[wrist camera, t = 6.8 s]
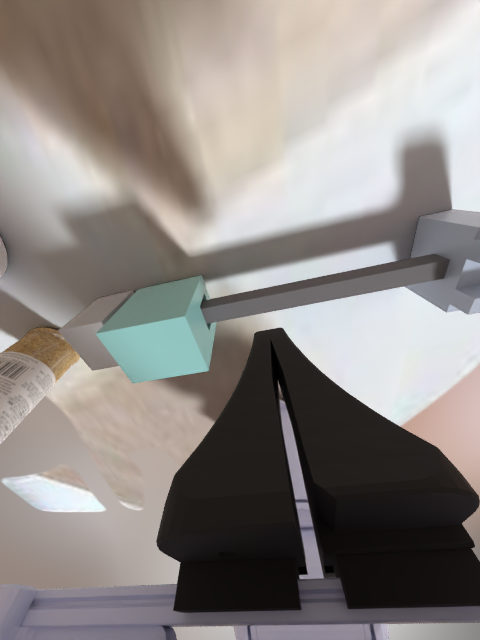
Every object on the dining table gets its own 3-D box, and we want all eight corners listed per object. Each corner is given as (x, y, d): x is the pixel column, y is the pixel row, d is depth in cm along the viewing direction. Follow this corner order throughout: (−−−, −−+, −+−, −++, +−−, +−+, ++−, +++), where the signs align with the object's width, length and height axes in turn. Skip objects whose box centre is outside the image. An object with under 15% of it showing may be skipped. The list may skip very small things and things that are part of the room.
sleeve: (201, 275, 15) (184, 316, 10) (217, 320, 17) (208, 371, 12) (138, 289, 16) (95, 333, 11) (160, 330, 18) (132, 383, 13)
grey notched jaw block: (452, 209, 13) (556, 221, 9) (431, 280, 16) (503, 316, 12) (419, 216, 14) (504, 232, 9) (403, 286, 16) (464, 323, 12)
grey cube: (132, 290, 16) (101, 321, 13) (153, 326, 18) (130, 363, 15) (93, 299, 17) (50, 332, 13) (117, 333, 19) (86, 371, 15)
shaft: (441, 249, 13) (462, 256, 12) (435, 271, 14) (453, 279, 13) (109, 317, 16) (98, 328, 14) (119, 332, 16) (109, 344, 15)
